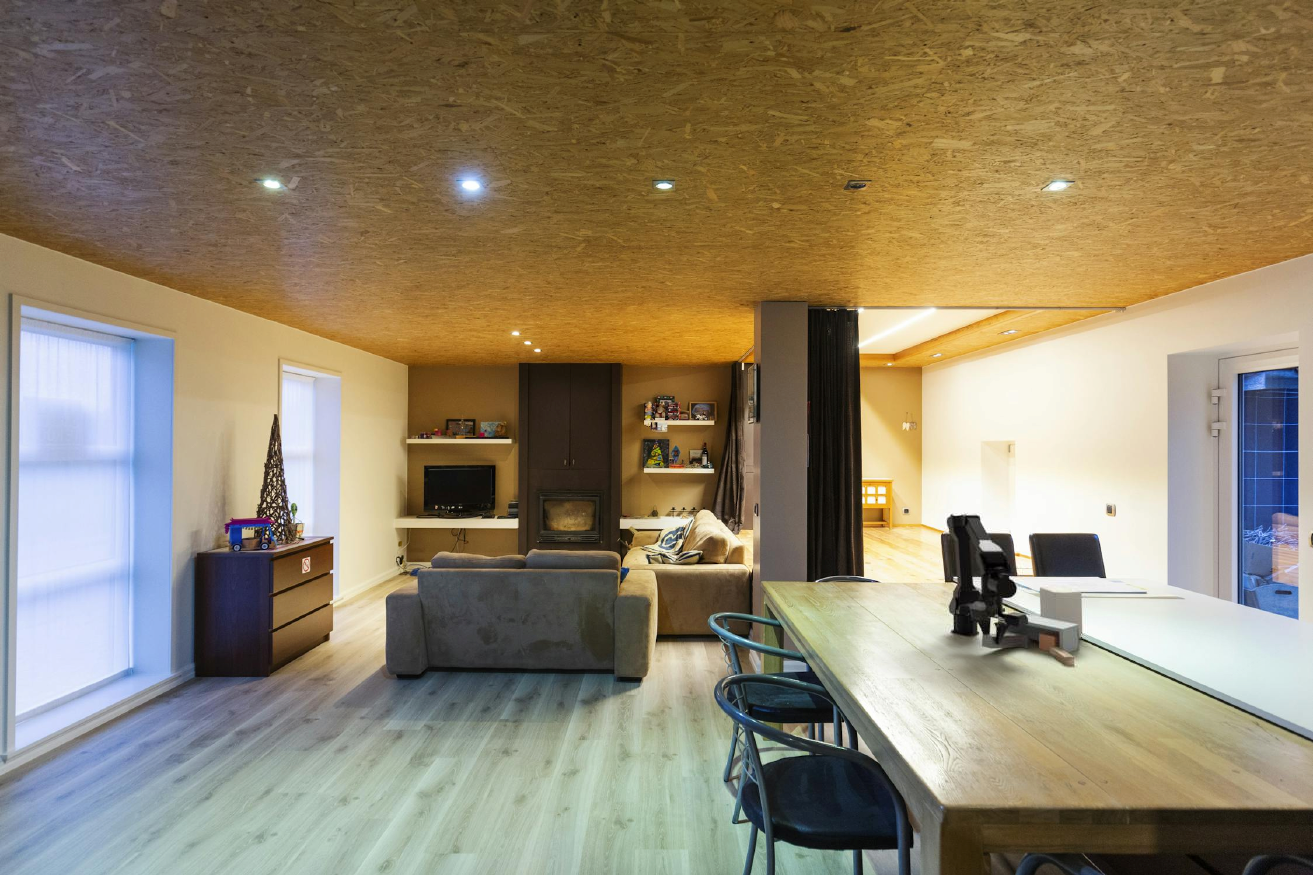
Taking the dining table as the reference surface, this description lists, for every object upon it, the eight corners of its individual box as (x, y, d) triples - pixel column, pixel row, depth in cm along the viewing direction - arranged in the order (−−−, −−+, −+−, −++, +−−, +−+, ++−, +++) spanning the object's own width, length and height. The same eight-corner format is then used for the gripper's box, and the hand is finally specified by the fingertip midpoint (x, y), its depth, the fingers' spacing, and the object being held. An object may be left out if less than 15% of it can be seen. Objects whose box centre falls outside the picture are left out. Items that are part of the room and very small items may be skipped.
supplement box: (1083, 638, 212) (1082, 592, 213) (1055, 638, 212) (1054, 592, 213) (1066, 631, 221) (1065, 586, 222) (1039, 631, 221) (1039, 586, 222)
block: (1039, 648, 202) (1039, 633, 202) (1046, 646, 205) (1046, 631, 205) (1054, 652, 198) (1054, 637, 199) (1062, 649, 201) (1061, 634, 201)
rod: (1064, 665, 187) (1064, 656, 187) (1049, 654, 196) (1049, 646, 197) (1074, 665, 186) (1074, 656, 186) (1058, 655, 196) (1058, 646, 196)
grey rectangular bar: (998, 650, 193) (998, 638, 194) (975, 644, 199) (976, 632, 199) (1029, 647, 203) (1030, 636, 203) (1007, 642, 208) (1007, 631, 209)
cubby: (1003, 640, 211) (1003, 616, 211) (1020, 635, 216) (1019, 612, 216) (1063, 654, 196) (1062, 628, 196) (1079, 649, 201) (1078, 624, 201)
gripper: (947, 588, 202) (948, 640, 201) (1007, 599, 186) (1008, 655, 186) (968, 584, 208) (969, 634, 207) (1028, 595, 192) (1029, 648, 192)
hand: (992, 643), depth 198 cm, fingers closed on grey rectangular bar, 3 cm apart
